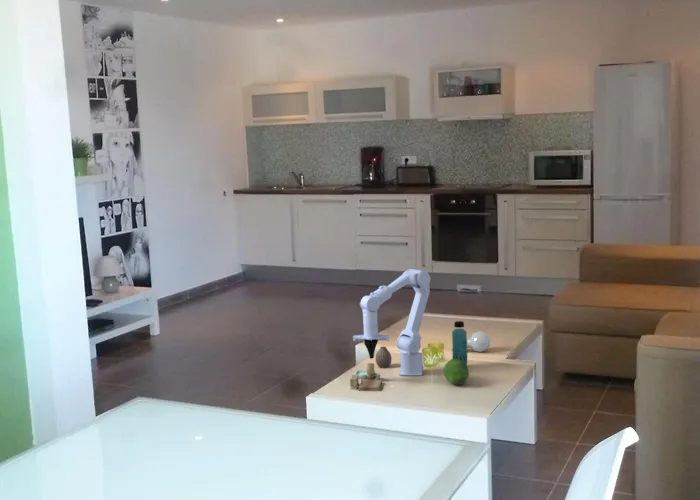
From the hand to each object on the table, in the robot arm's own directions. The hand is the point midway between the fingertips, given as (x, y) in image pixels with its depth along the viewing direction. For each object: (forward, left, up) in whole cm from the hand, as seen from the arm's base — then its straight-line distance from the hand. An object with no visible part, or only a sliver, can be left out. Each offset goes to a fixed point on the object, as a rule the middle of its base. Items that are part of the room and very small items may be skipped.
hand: (371, 357), depth 331 cm
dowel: (+1, -1, -10) cm, 10 cm away
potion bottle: (-41, -47, -10) cm, 63 cm away
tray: (+4, -7, -10) cm, 13 cm away
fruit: (-34, +1, -10) cm, 36 cm away
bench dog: (+6, +8, -10) cm, 14 cm away
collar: (+1, -1, -10) cm, 10 cm away
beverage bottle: (-35, -21, -10) cm, 42 cm away
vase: (-2, -22, -10) cm, 24 cm away
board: (0, +8, -10) cm, 13 cm away
